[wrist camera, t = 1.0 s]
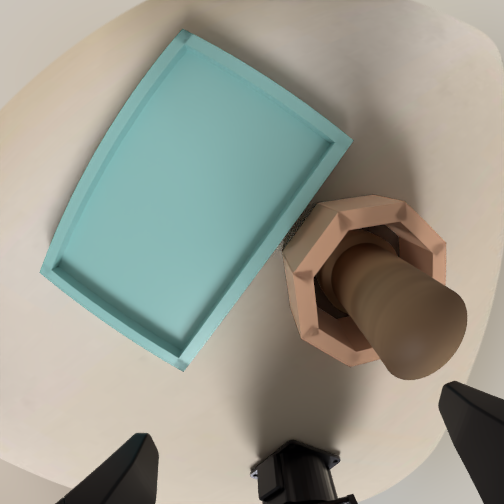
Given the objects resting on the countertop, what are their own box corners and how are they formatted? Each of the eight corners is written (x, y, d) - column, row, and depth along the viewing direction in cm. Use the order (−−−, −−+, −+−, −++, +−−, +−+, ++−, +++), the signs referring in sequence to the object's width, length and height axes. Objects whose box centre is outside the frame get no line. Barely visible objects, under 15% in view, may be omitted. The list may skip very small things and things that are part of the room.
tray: (343, 143, 19) (353, 140, 17) (187, 356, 22) (183, 371, 20) (187, 40, 17) (182, 28, 15) (53, 264, 20) (39, 272, 18)
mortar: (432, 250, 21) (468, 267, 16) (357, 348, 22) (378, 383, 18) (341, 168, 19) (368, 167, 15) (256, 285, 21) (260, 314, 16)
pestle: (400, 257, 21) (491, 314, 11) (355, 315, 22) (419, 402, 12) (347, 212, 20) (431, 249, 10) (300, 277, 21) (344, 361, 11)
